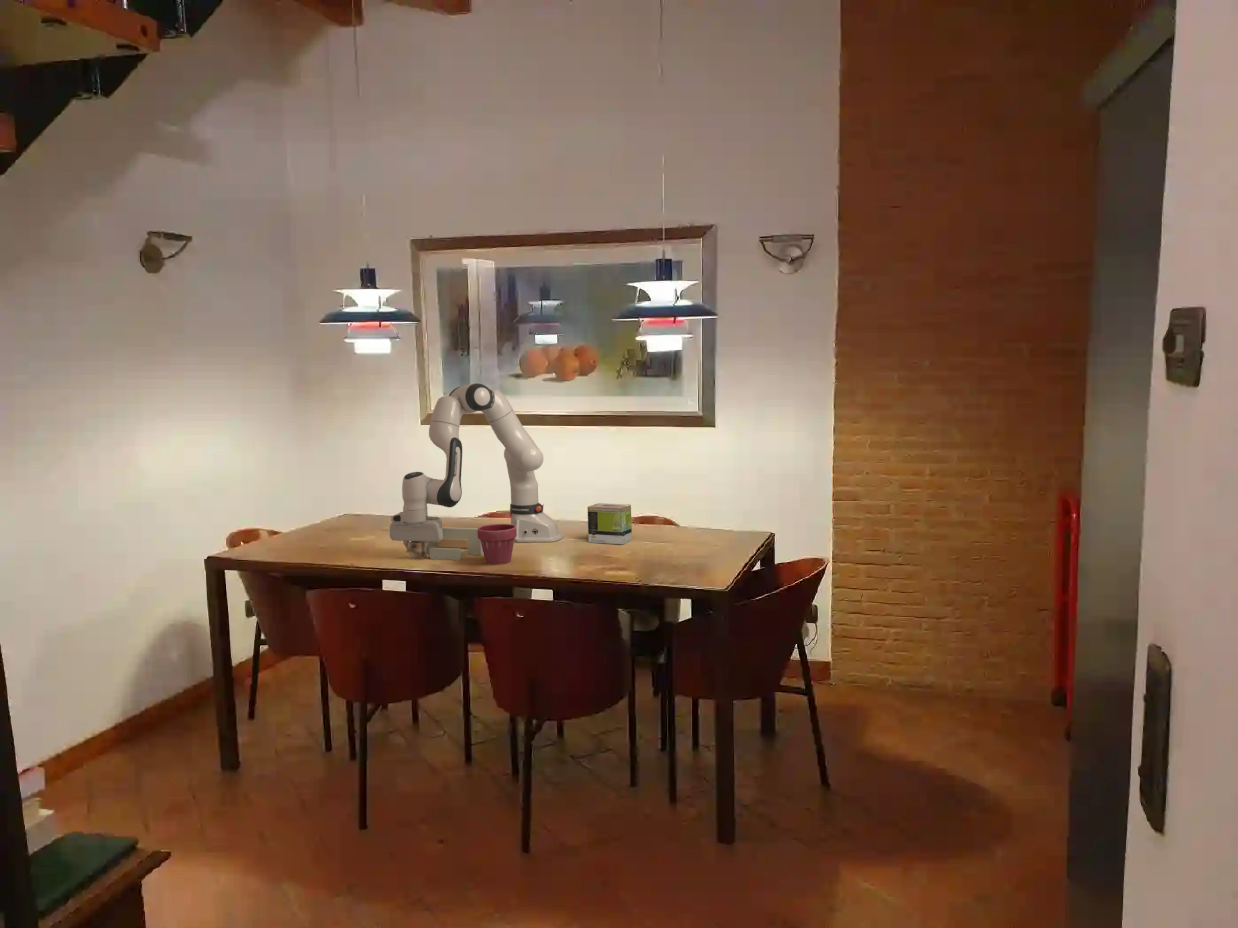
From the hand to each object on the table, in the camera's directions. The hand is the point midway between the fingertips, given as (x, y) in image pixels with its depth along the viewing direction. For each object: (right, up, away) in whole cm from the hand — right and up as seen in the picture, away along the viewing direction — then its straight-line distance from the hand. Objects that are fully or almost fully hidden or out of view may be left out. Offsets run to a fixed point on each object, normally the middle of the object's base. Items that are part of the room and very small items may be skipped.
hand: (417, 552), depth 347 cm
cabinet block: (0, -2, 0) cm, 2 cm away
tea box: (+72, +2, +23) cm, 75 cm away
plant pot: (+31, -3, -8) cm, 32 cm away
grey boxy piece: (+12, -2, +1) cm, 12 cm away
